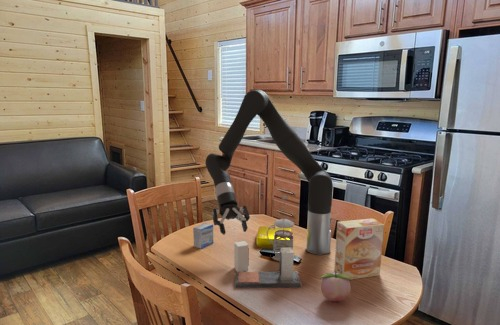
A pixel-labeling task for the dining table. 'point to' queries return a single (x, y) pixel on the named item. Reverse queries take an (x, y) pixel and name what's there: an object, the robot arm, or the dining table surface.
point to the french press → (282, 235)
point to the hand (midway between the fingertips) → (234, 232)
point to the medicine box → (203, 235)
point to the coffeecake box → (359, 248)
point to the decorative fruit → (335, 286)
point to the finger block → (241, 256)
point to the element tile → (262, 236)
